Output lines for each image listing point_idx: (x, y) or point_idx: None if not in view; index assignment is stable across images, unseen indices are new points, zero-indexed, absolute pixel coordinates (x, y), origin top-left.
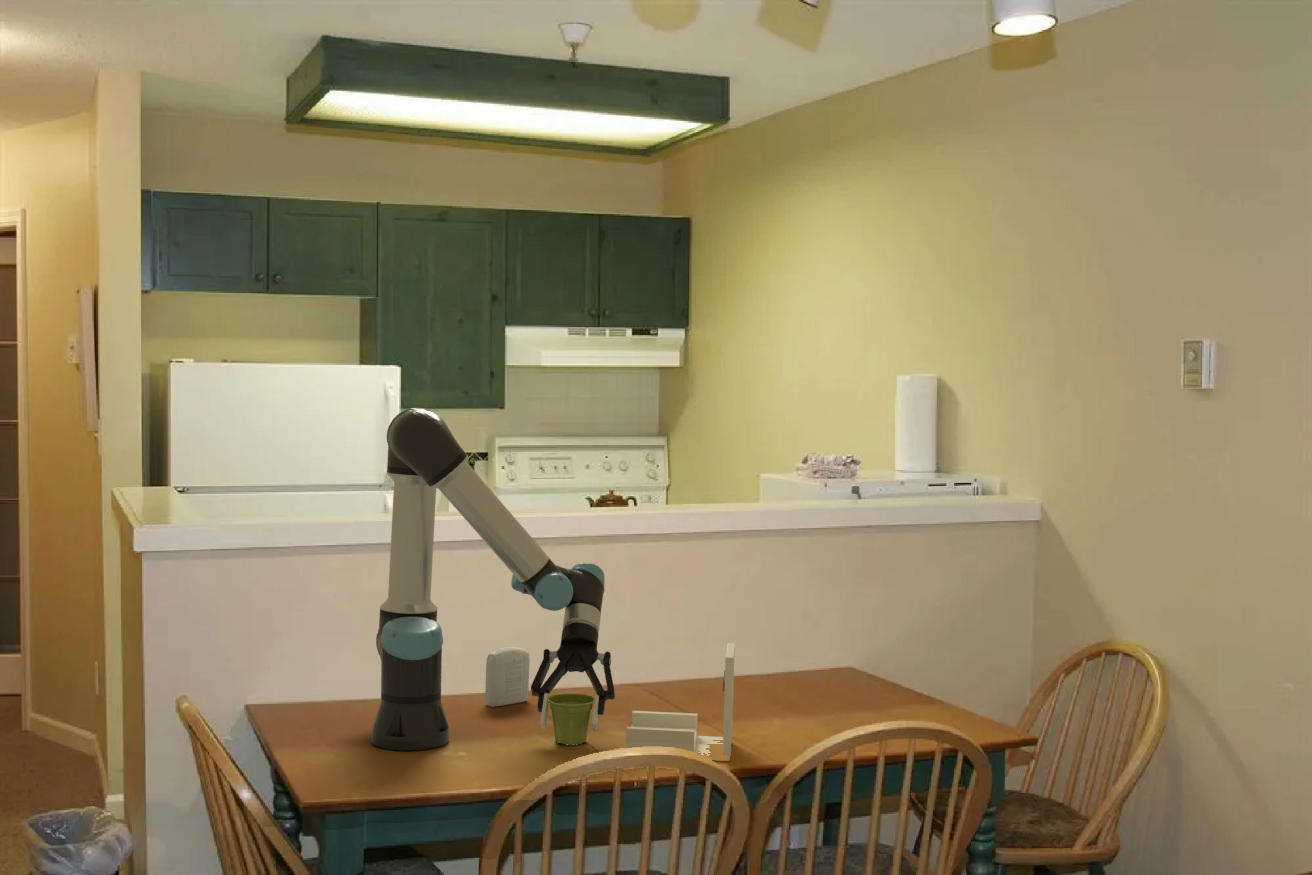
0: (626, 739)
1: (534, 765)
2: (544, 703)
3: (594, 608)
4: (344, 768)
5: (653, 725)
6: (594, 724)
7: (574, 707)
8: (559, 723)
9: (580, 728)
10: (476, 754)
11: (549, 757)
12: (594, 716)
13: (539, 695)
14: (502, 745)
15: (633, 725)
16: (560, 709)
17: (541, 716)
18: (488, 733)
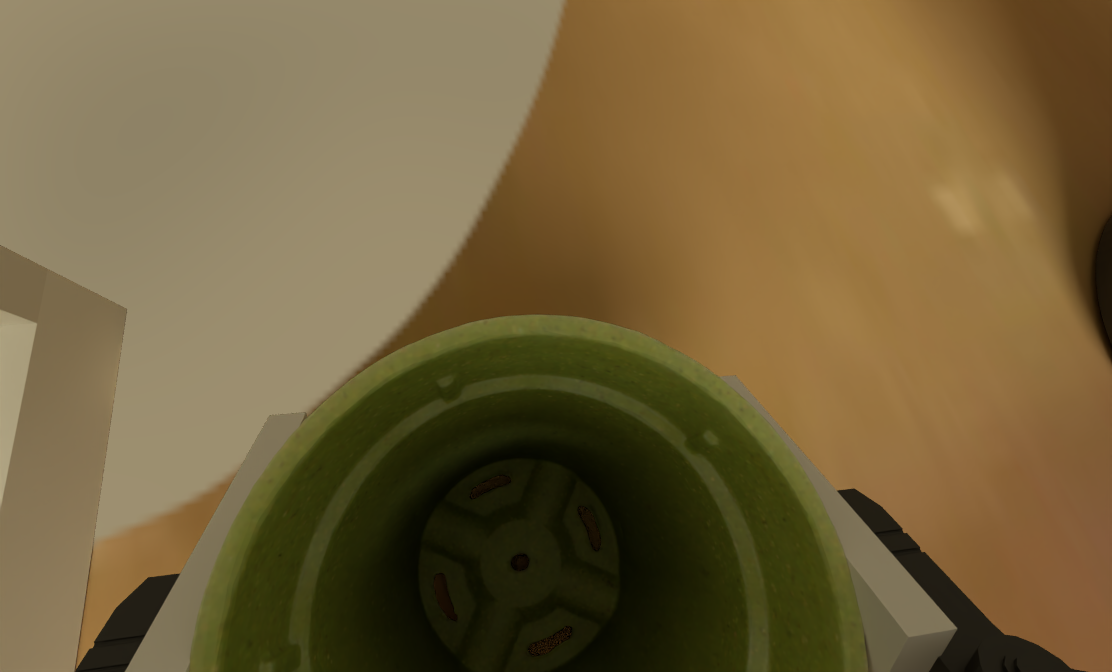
0: (30, 261)
1: (591, 95)
2: (827, 499)
3: None
4: None
5: None
6: (281, 418)
7: (453, 362)
8: (594, 434)
9: (426, 473)
10: (892, 201)
11: (560, 220)
12: (261, 468)
13: (987, 627)
14: (859, 374)
15: None
16: (605, 373)
17: (756, 404)
18: (1049, 608)
